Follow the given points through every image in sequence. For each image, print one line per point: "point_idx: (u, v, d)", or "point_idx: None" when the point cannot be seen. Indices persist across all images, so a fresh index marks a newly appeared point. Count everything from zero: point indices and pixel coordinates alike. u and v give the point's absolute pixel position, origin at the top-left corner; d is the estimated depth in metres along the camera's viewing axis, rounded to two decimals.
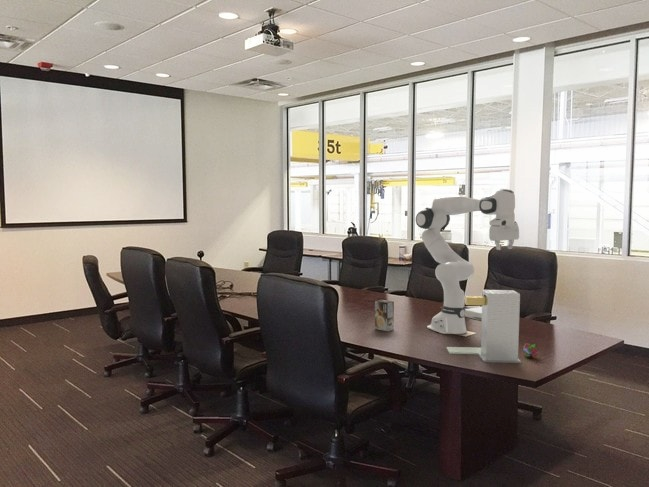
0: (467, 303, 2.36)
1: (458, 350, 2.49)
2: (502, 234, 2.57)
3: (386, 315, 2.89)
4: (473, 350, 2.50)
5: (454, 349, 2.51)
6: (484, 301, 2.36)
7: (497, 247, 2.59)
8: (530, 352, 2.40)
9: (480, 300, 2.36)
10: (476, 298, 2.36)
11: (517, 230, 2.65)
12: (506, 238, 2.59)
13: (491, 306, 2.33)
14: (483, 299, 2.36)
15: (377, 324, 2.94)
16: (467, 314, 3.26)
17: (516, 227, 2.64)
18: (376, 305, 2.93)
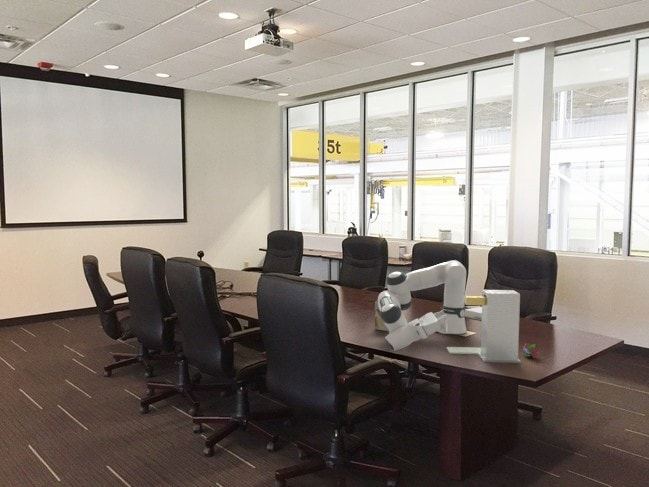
0: (467, 303, 2.36)
1: (458, 350, 2.49)
2: (430, 320, 2.35)
3: None
4: (473, 350, 2.50)
5: (454, 349, 2.51)
6: (484, 301, 2.36)
7: (445, 318, 2.34)
8: (530, 352, 2.40)
9: (480, 300, 2.36)
10: (476, 298, 2.36)
11: (423, 316, 2.48)
12: (433, 316, 2.38)
13: (491, 306, 2.33)
14: (483, 299, 2.36)
15: (377, 324, 2.94)
16: (468, 314, 3.26)
17: (420, 318, 2.47)
18: (376, 305, 2.93)
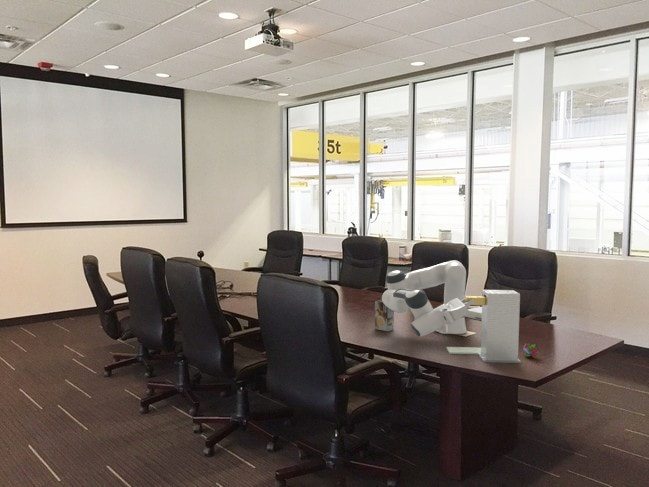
0: None
1: (458, 350, 2.49)
2: (457, 306, 2.34)
3: (386, 315, 2.89)
4: (473, 350, 2.50)
5: (454, 349, 2.51)
6: (484, 301, 2.36)
7: (471, 302, 2.35)
8: (530, 352, 2.40)
9: (480, 300, 2.36)
10: (476, 298, 2.36)
11: (448, 302, 2.47)
12: (460, 302, 2.37)
13: (491, 306, 2.33)
14: (483, 299, 2.36)
15: (377, 324, 2.94)
16: (469, 314, 3.25)
17: (446, 304, 2.46)
18: (376, 305, 2.93)
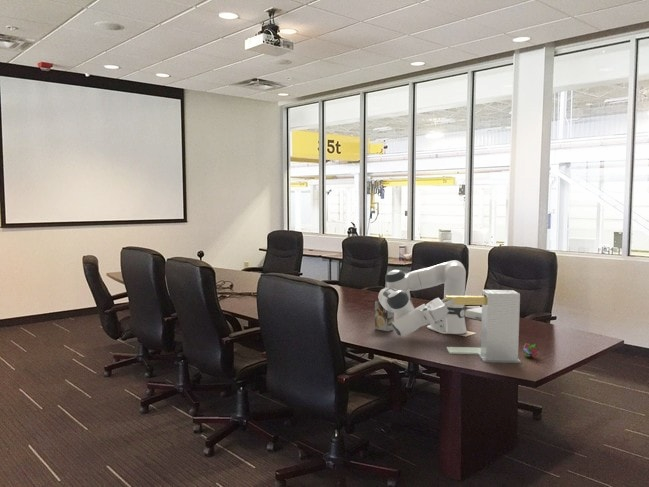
0: None
1: (458, 350, 2.49)
2: (437, 305, 2.34)
3: (386, 315, 2.89)
4: (473, 350, 2.50)
5: (454, 349, 2.51)
6: (464, 300, 2.36)
7: (451, 302, 2.35)
8: (530, 352, 2.40)
9: (460, 299, 2.36)
10: (456, 297, 2.36)
11: (430, 302, 2.47)
12: (440, 301, 2.37)
13: (491, 306, 2.33)
14: (463, 298, 2.36)
15: (377, 324, 2.94)
16: (470, 314, 3.25)
17: (427, 304, 2.46)
18: (376, 305, 2.93)
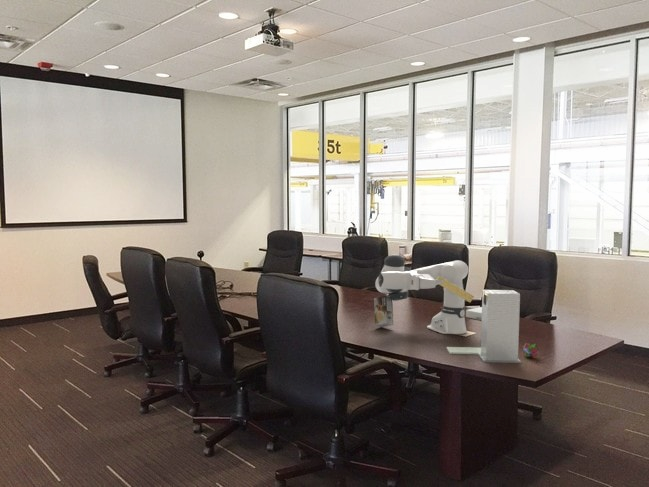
0: None
1: (458, 350, 2.49)
2: (427, 278, 2.44)
3: (385, 308, 2.93)
4: (473, 350, 2.50)
5: (454, 349, 2.51)
6: (451, 287, 2.47)
7: (441, 282, 2.45)
8: (530, 352, 2.40)
9: (449, 285, 2.47)
10: (446, 281, 2.47)
11: (420, 274, 2.57)
12: (431, 277, 2.48)
13: (491, 306, 2.33)
14: (452, 285, 2.47)
15: (377, 319, 2.95)
16: (470, 314, 3.24)
17: None
18: (375, 301, 2.99)
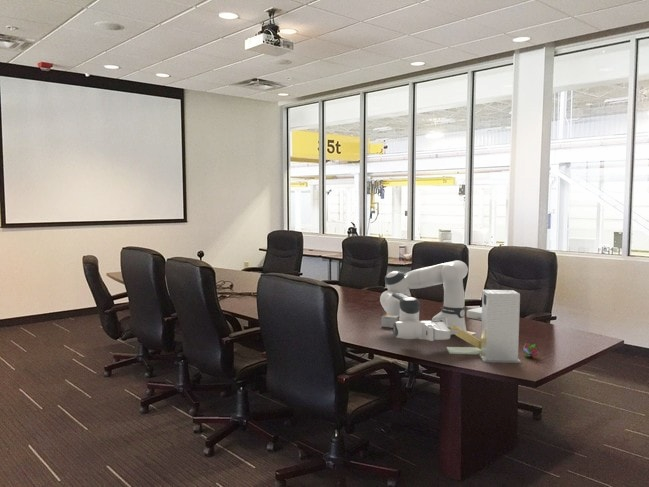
0: None
1: (458, 350, 2.49)
2: (442, 328, 2.45)
3: None
4: (473, 350, 2.50)
5: (454, 349, 2.51)
6: (466, 337, 2.47)
7: (455, 332, 2.46)
8: (530, 352, 2.40)
9: (463, 334, 2.47)
10: (461, 331, 2.47)
11: (435, 322, 2.58)
12: (445, 326, 2.48)
13: (491, 306, 2.33)
14: (466, 335, 2.47)
15: (386, 315, 3.01)
16: (471, 314, 3.24)
17: (432, 323, 2.57)
18: None
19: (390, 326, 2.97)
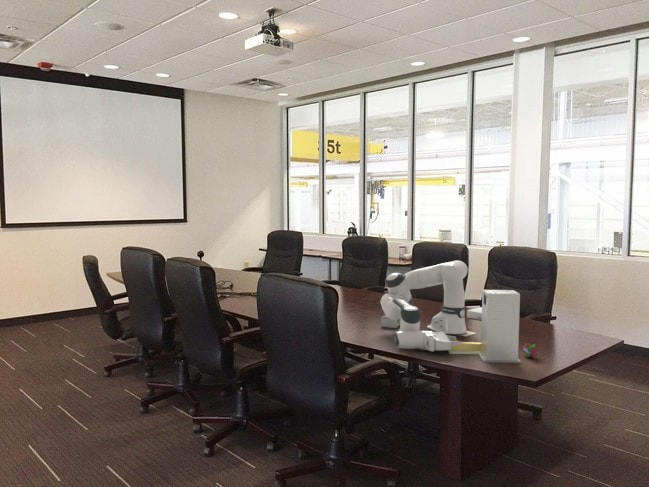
0: None
1: None
2: (443, 339, 2.47)
3: None
4: None
5: None
6: (465, 347, 2.49)
7: (457, 343, 2.46)
8: (530, 352, 2.40)
9: (461, 346, 2.49)
10: None
11: (435, 332, 2.59)
12: (446, 337, 2.50)
13: (491, 306, 2.33)
14: (464, 345, 2.49)
15: (386, 315, 3.01)
16: (471, 315, 3.23)
17: (432, 332, 2.58)
18: None
19: (390, 326, 2.97)
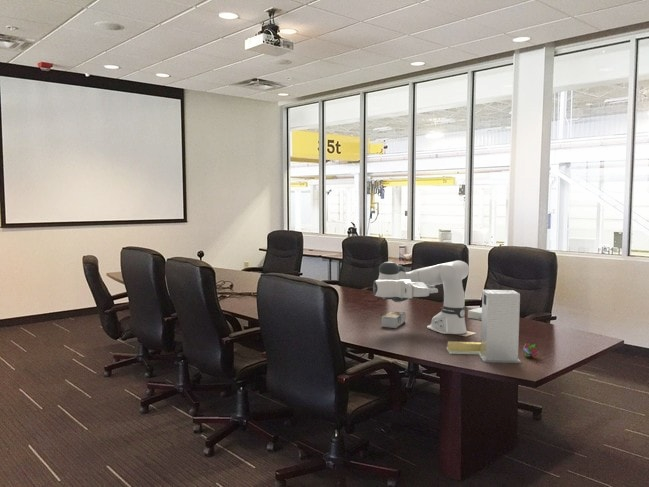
0: (449, 348, 2.50)
1: None
2: (421, 286, 2.46)
3: (400, 314, 3.03)
4: None
5: None
6: (465, 347, 2.49)
7: (435, 291, 2.45)
8: (530, 352, 2.40)
9: (461, 346, 2.49)
10: (457, 344, 2.49)
11: (414, 282, 2.59)
12: (425, 285, 2.49)
13: (491, 306, 2.33)
14: (464, 345, 2.49)
15: (386, 315, 3.01)
16: (473, 315, 3.23)
17: None
18: (392, 312, 3.11)
19: (390, 326, 2.97)
